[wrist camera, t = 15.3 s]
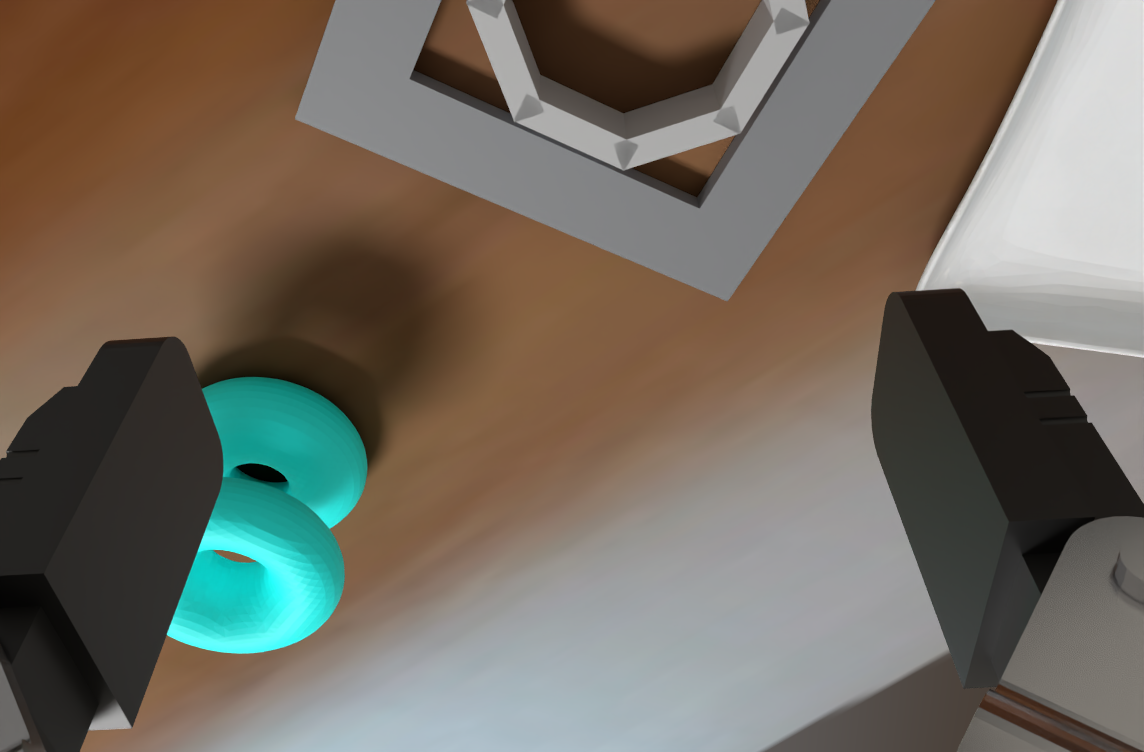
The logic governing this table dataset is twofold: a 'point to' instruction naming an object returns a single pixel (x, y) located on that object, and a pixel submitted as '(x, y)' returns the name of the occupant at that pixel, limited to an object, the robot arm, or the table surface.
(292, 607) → the donuts
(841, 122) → the bulb socket stand
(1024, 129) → the salad plate
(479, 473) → the table surface
